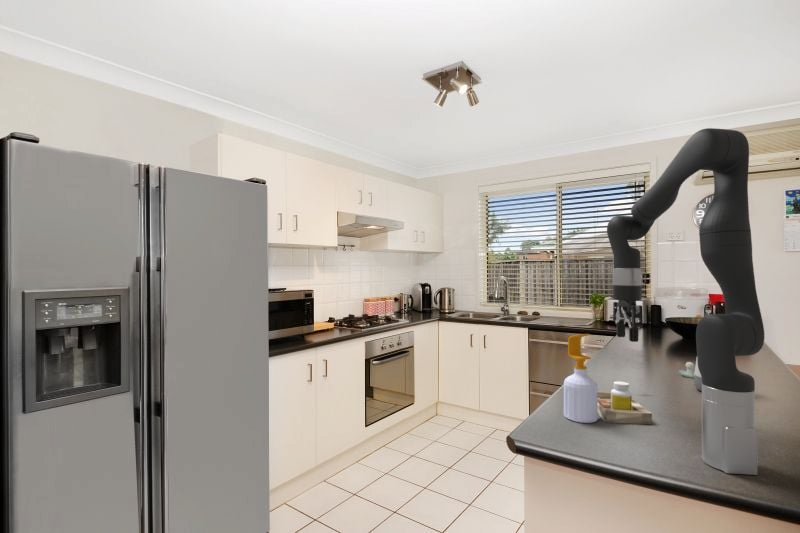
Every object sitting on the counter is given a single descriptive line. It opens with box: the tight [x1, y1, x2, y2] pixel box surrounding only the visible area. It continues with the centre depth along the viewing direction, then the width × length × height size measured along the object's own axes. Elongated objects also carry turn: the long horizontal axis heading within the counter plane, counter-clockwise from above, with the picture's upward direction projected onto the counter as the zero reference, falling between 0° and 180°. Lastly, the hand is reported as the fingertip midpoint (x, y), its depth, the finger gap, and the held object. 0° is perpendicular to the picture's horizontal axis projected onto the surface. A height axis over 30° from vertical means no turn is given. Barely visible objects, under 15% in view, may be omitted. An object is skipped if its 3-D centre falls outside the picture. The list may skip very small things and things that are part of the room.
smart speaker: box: [693, 358, 702, 393], centre depth 146 cm, size 10×9×14 cm
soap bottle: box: [563, 333, 599, 424], centre depth 121 cm, size 9×9×25 cm
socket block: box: [598, 390, 653, 425], centre depth 127 cm, size 21×12×4 cm, turn 173°
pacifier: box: [678, 361, 696, 379], centre depth 167 cm, size 7×6×6 cm
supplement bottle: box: [610, 380, 633, 410], centre depth 122 cm, size 5×5×10 cm
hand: (627, 339), depth 122 cm, fingers open, 8 cm apart
